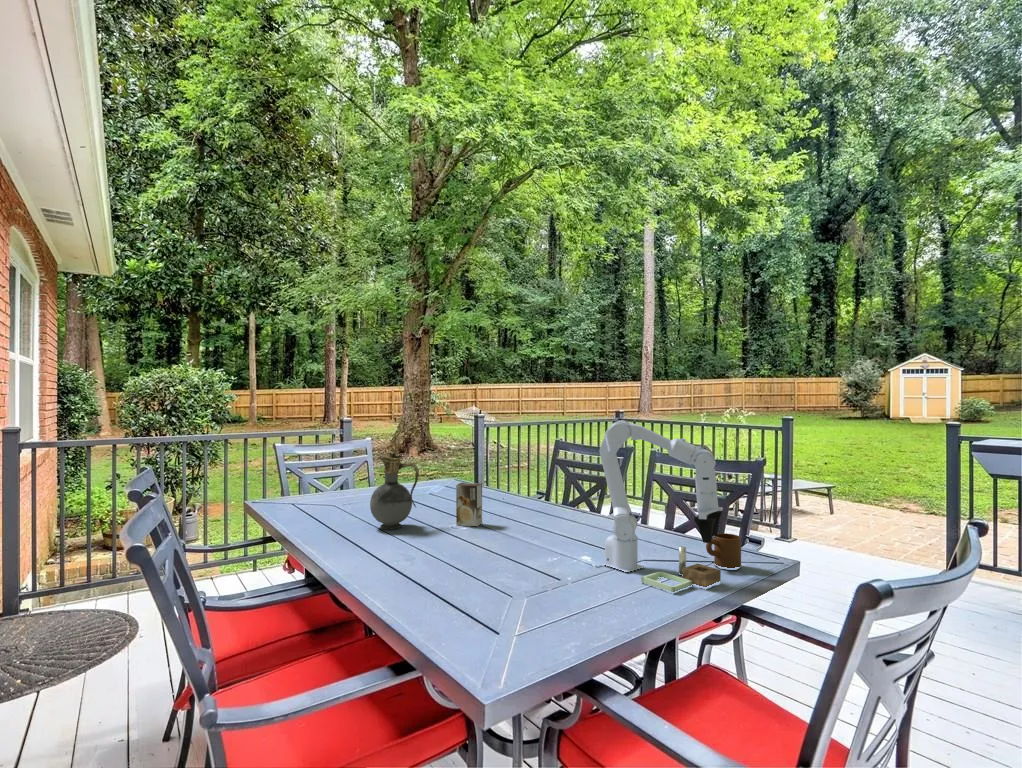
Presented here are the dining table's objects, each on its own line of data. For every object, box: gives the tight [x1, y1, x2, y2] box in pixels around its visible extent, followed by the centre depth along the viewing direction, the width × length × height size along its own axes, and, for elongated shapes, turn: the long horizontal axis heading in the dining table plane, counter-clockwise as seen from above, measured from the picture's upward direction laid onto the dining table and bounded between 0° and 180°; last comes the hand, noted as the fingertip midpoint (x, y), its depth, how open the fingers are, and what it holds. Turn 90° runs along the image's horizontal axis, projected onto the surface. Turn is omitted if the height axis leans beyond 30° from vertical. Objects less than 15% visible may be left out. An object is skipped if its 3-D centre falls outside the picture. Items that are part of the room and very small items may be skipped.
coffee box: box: [455, 482, 483, 527], centre depth 223 cm, size 9×6×16 cm
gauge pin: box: [678, 546, 687, 574], centre depth 164 cm, size 2×2×8 cm
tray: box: [640, 570, 692, 592], centre depth 155 cm, size 10×8×2 cm
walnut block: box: [682, 563, 722, 587], centre depth 156 cm, size 7×7×4 cm
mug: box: [705, 532, 742, 568], centre depth 170 cm, size 12×8×9 cm, turn 114°
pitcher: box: [369, 448, 420, 530], centre depth 218 cm, size 11×19×30 cm, turn 121°
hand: (710, 539), depth 163 cm, fingers open, 7 cm apart
